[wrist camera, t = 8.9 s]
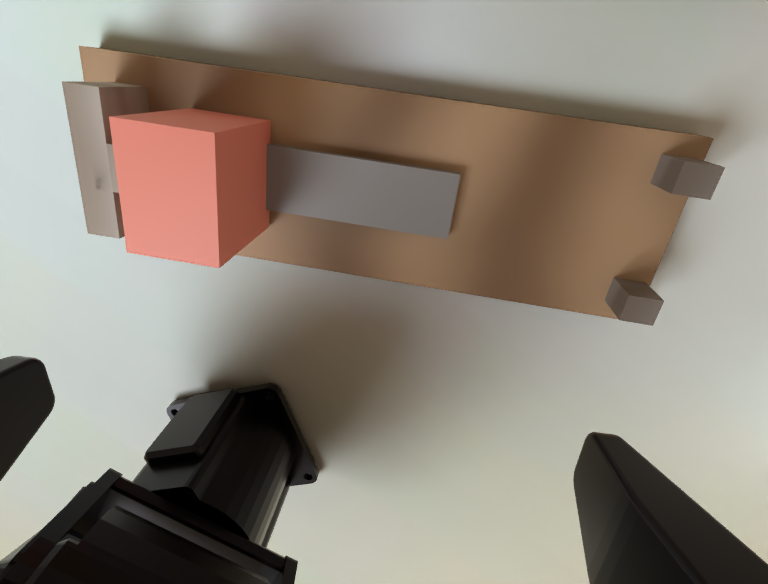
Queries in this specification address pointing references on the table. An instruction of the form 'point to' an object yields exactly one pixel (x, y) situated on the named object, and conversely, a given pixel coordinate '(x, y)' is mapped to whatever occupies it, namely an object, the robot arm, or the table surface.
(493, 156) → the plank
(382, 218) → the tab
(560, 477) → the table surface
